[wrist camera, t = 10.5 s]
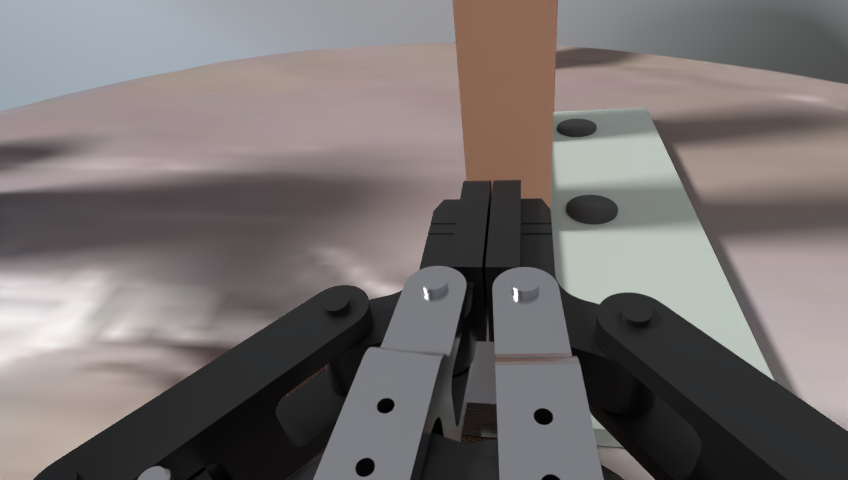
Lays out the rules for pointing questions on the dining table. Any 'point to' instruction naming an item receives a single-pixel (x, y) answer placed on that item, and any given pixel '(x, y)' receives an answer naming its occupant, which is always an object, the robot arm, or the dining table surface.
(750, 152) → the dining table surface
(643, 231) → the hole plate
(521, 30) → the sliding leg
